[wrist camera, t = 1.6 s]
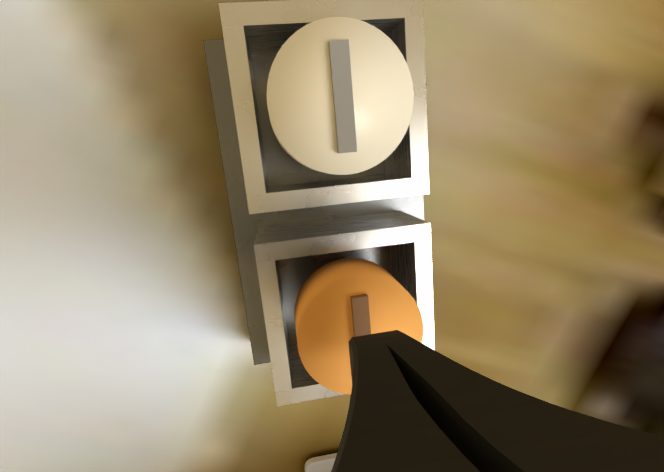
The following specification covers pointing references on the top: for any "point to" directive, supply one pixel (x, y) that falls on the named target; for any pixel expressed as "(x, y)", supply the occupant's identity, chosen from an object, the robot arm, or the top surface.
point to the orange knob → (348, 316)
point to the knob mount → (313, 182)
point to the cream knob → (339, 96)
